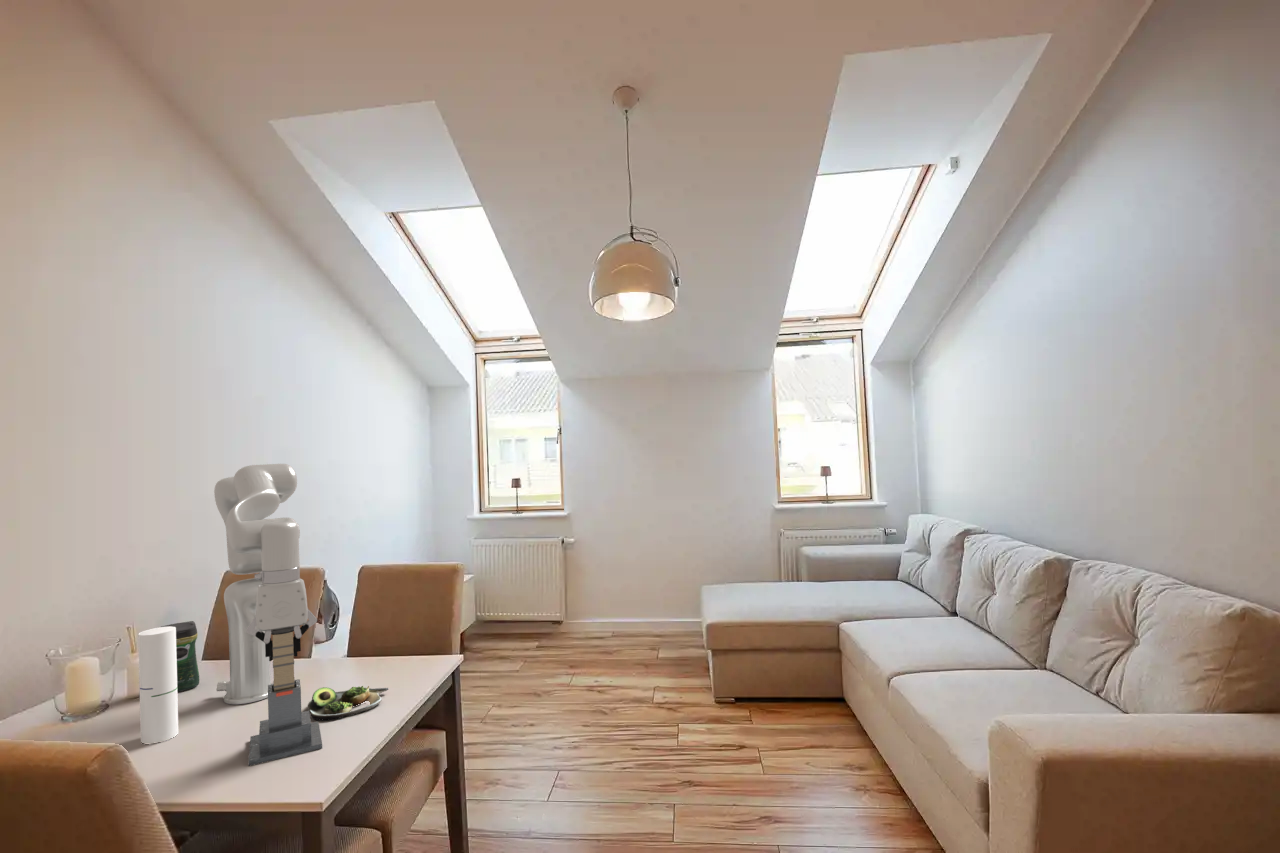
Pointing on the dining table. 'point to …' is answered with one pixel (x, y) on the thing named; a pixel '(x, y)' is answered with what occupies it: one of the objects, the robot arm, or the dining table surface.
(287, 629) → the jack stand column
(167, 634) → the cylindrical container
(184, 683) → the coffee jar
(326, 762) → the dining table surface
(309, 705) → the salad plate
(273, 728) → the stand
